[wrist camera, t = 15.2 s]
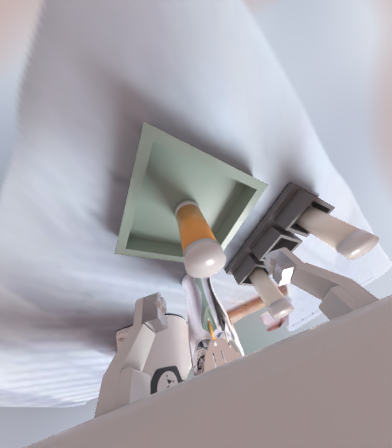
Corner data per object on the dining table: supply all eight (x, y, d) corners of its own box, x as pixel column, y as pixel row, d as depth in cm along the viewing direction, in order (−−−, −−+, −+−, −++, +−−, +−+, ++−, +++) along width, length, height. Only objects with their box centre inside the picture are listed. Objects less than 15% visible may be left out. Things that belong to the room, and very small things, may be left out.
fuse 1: (251, 272, 30) (282, 318, 22) (239, 270, 28) (268, 319, 21) (261, 260, 28) (298, 306, 21) (248, 258, 27) (283, 306, 19)
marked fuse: (202, 217, 20) (228, 270, 12) (178, 225, 19) (190, 282, 12) (197, 196, 18) (224, 242, 10) (171, 203, 17) (179, 257, 10)
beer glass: (178, 291, 29) (194, 407, 17) (180, 269, 25) (201, 397, 13) (210, 286, 31) (244, 388, 19) (215, 265, 27) (263, 374, 15)
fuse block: (253, 273, 32) (262, 287, 29) (224, 270, 29) (232, 285, 26) (318, 198, 24) (340, 208, 21) (289, 182, 20) (310, 190, 18)
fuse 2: (295, 221, 24) (355, 261, 17) (282, 216, 23) (342, 257, 15) (310, 204, 23) (383, 240, 15) (297, 198, 21) (371, 233, 14)
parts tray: (207, 253, 25) (213, 266, 22) (119, 237, 19) (114, 253, 17) (253, 177, 19) (268, 184, 16) (146, 123, 13) (143, 121, 11)
